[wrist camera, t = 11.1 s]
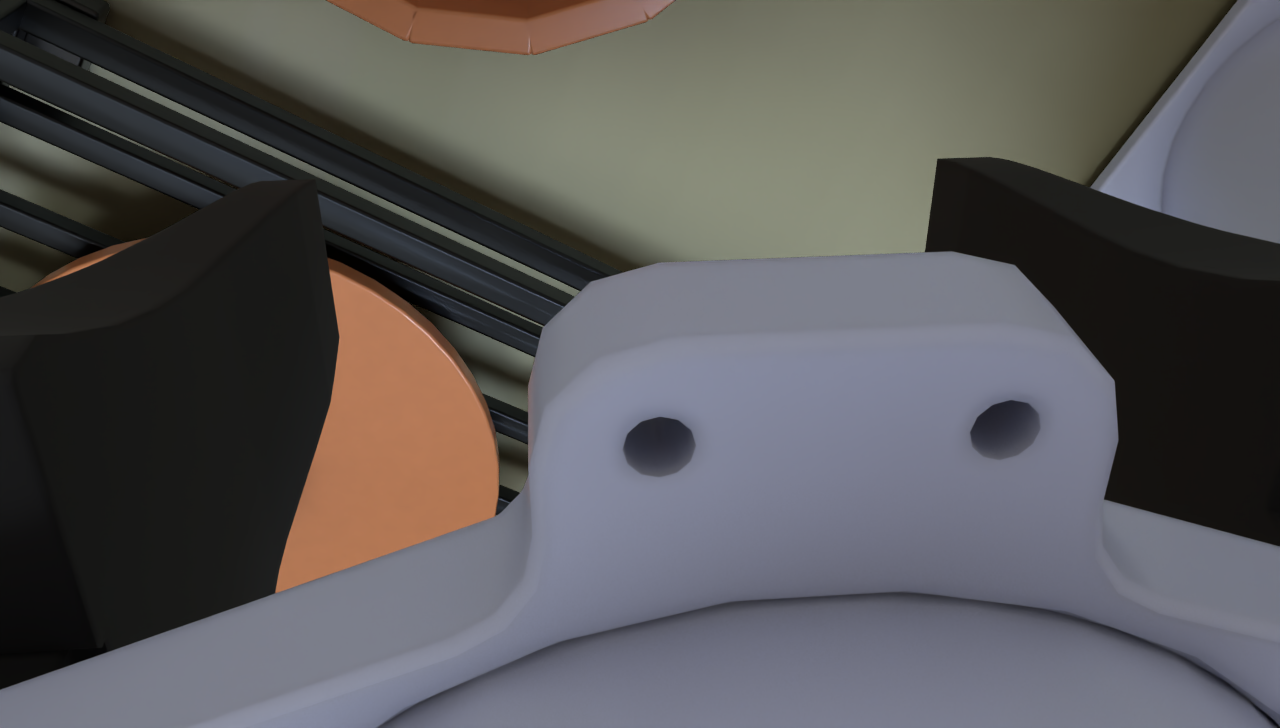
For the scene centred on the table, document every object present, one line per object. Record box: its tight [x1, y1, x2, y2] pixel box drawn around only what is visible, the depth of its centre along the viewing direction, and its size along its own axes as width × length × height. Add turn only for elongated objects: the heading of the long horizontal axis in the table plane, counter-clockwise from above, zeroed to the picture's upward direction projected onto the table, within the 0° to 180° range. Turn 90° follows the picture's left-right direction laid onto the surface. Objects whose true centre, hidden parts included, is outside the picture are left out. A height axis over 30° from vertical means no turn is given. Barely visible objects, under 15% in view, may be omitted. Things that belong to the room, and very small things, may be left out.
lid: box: [31, 238, 499, 593], centre depth 23 cm, size 11×11×5 cm
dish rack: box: [0, 0, 624, 515], centre depth 25 cm, size 21×14×6 cm, turn 60°
